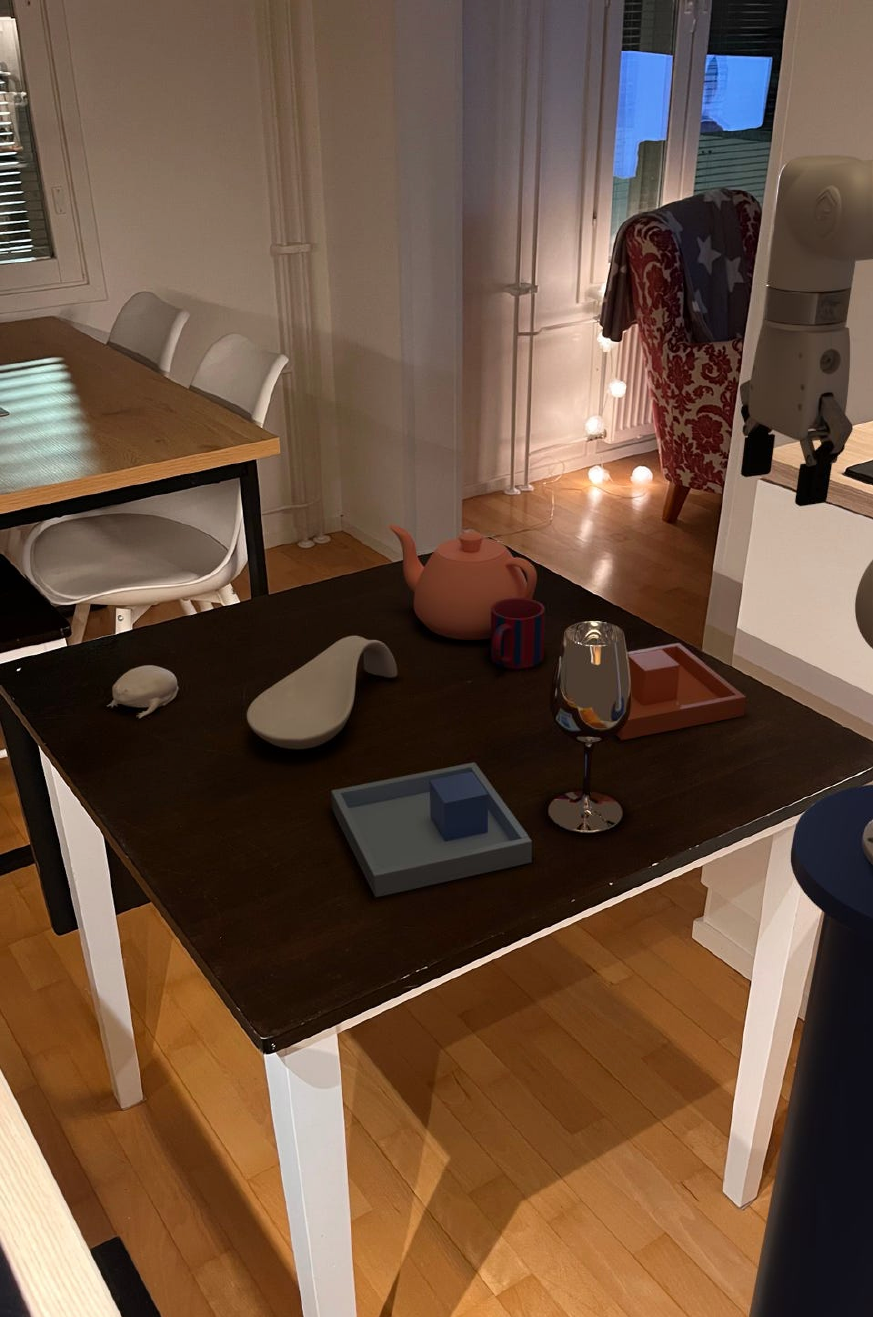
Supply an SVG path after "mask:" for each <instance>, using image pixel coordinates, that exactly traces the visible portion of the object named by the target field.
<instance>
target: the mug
mask: <svg viewBox="0 0 873 1317" xmlns="http://www.w3.org/2000/svg"><path fill="white" fill-rule="evenodd" d="M545 613H546V608H545V606H544V605H543V604H542V603H541V602H539V601H537V600H534V599H532V600H531V599H526V598H510V599H504V600H501V601H498V602H496V603H495V604H493V605H492V607H491V638H490V659H491V661H492V662H493V663H494V664H495V665H497V666H499V667H501V668H506V669H512V670H523V669H530V668H533V667H536V666H538V665H539V664H540V663H542V662H543V660H544V656H545V655H544V654H545V621H546V620H545V618H546V615H545Z"/></svg>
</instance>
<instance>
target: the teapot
mask: <svg viewBox="0 0 873 1317" xmlns="http://www.w3.org/2000/svg"><path fill="white" fill-rule="evenodd" d="M389 529H390V530H391V531H392V532H393V534H395V535H396V537H397V539H398V540H399V542H400V546H401V551H402V552H401V553H402V571H403V577H404V580H405V583H406V585H407V586H408V587H409V589H410V590H411V591H412V592H413V593H414V596H413V610H414V613H415V615H416V617H417V618H418V619H419V621H420V622H421V623H423V624H424V626H425V627H426V628H427V629H429V630H430V631H431V632H433V633H435V634H437V635H439V636H442V637H445V638H449V639H454V640H462V641H463V640H465V641H477V640H478V641H479V640H487V639H491V607H492V605H493V604H495V603H496V602H498V601H501V600H504V599H510V598H526V599H531V600H533V597H534V593H535V589H536V588H537V582H538V581H537V580H538V573H537V569H536V568H535V566H534V565H533V564H532V563H531V562H530V561H528V560H527V559H525V558H522V557H514V556H513V555H512V553H511V551H510V550H509V549H508V548H507V547H506V546H505V545H504V544H503V543H502V542H500V541H498V540H495V539H492V538H486V537H484V535H483V534H482V533H480V532H477V531H467V532H462V533H460V534H459V536H458V538H454V539H449V540H446V541H444V542H442V543H441V544H440V545H439V546H437V547H436V549H435V550H434V551H433V553H432V554H431V555H430V557H429V559H428V560H427V562H426V564H425V565H423V564H422V563H421V562H420V559H419V557H418V553H417V548H416V543H415V540H414V538H413V537H412V534H410V532H408V531H407V530H406V529H403V528H402V527H400V526H398V525H397V526H396V525H392V524H391V525H389ZM523 572H524V573H525V575H526V578H525V575H524V573H523ZM526 579H527V580H526Z"/></svg>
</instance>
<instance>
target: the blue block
mask: <svg viewBox="0 0 873 1317" xmlns="http://www.w3.org/2000/svg"><path fill="white" fill-rule="evenodd" d="M429 783H430V815H431V819H432V821H433V823H434V824H435V826H436V827H437V829H438V831H439V832H440V834H441V836H442V837H443V839H444V840H445V841H450V840H455V839H459V838H464V837H468V836H473V835H478V834H482V833H487V832H488V794H487V792H486V791H485V790H484V788H483V787H482V785H481V784H480V782H479V781H478V780H477V778H476V777H475V775H474V774H473V773H472V772H468V773H463V774H458V775H453V776H448V777H443V778H438V779H433V780H429Z"/></svg>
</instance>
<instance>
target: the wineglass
mask: <svg viewBox="0 0 873 1317" xmlns="http://www.w3.org/2000/svg"><path fill="white" fill-rule="evenodd" d="M625 636H626V635H625V633H624V631H623V629H621V628H620V627H619V626H617V625H615V624H613V623H609V622H604V621H599V620H598V621H597V620H596V621H595V620H590V621H580V622H576V623H574V624H571V625H570V626H568V627H567V628H565V630H564V632H563V637H562V640H561V643H560V646H559V650H558V653H557V654H558V655H557V658H556V662H555V666H554V669H553V674H552V678H551V679H552V680H551V687H550V696H549V706H550V713H551V715H552V718H553V721H554V723H555V725H557V727H558V728H559V729H560V730H559V731H561V732H562V733H563V734H564V735H566V736H567V737H569V738H570V739H571V740H573V741H575V742H578V743H581V744H582V747H583V782H582V790H577V791H576V790H575V791H570V792H565V793H563V794H561V795H558V796H557V797H556V798H554V799H552V801H551V802H550V803H549V805H548V808H547V814H548V817H549V819H550V820H551V821H552V822H553V823H554V824H555V825H556V826H558V827H560V828H562V829H563V830H566V831H568V832H569V831H570V832H573V833H578V834H598V833H603V832H606V831H609V830H611V829H613V828H615V827H616V826H617V825H619V824H620V823H621V821H622V820H623V817H624V809H623V808H622V806H621V804H620V803H619V802H618V801H617V800H615V799H614V798H612V797H610V796H609V795H606V794H604V793H601V792H597V791H591V776H592V760H593V752H594V747H595V745H596V744H600V743H604V742H606V741H607V740H610V739H611V738H613V737H615V736H617V735H616V734H617V733H618V732H619V731H620V730H621V729H622V728H623V726H624V725H625V724H626V722H627V720H628V718H629V715H630V713H631V707H632V682H631V673H630V666H629V659H628V653H627V652H628V649H627V648H628V647H627V643H626V637H625Z"/></svg>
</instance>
